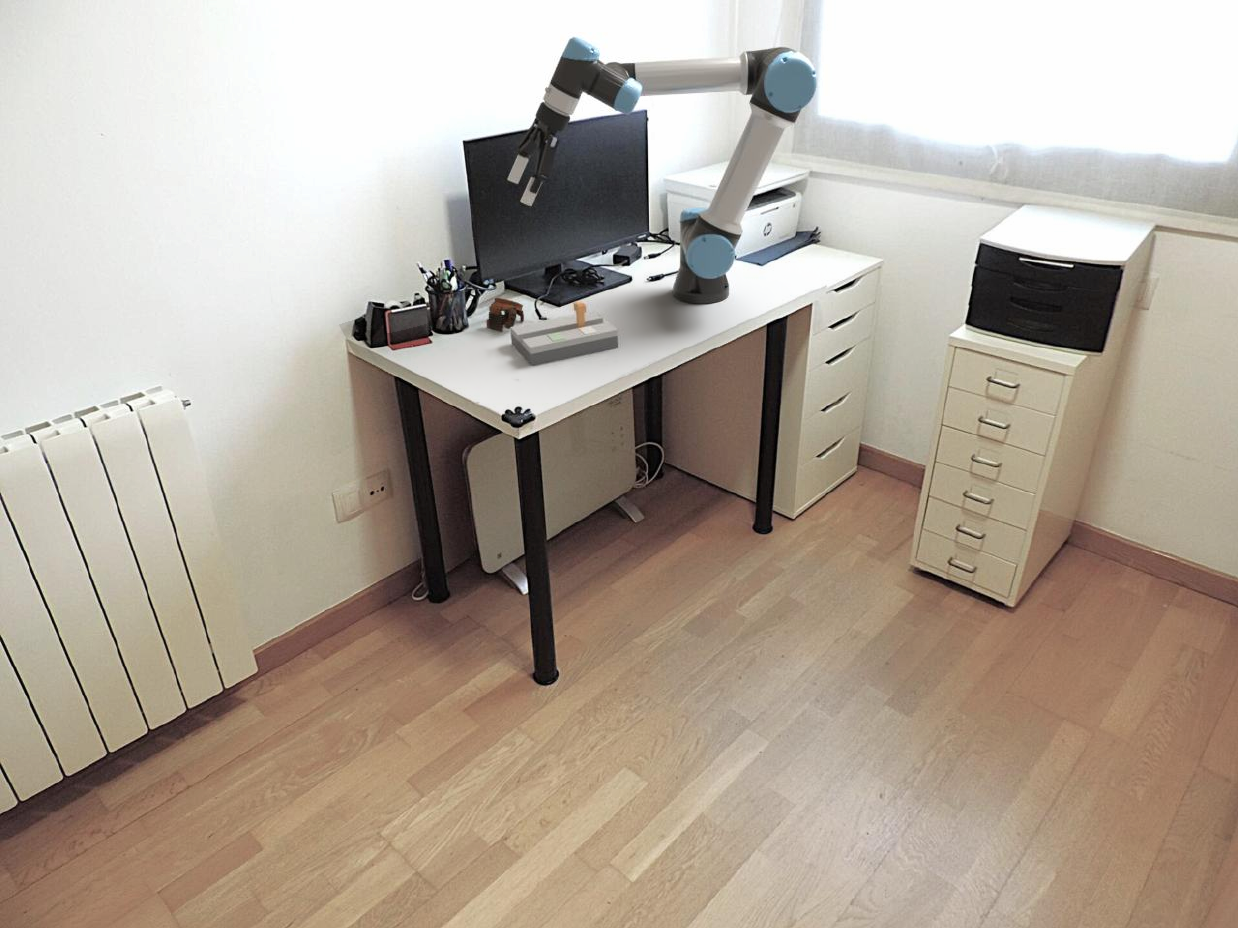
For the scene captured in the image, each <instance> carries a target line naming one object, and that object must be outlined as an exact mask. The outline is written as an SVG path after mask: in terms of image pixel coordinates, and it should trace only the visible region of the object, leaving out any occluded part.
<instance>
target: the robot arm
mask: <svg viewBox="0 0 1238 928" xmlns="http://www.w3.org/2000/svg"><path fill="white" fill-rule="evenodd" d="M600 55H601V50H599V48H597V47H596V46H595V45H593V44H591V43H589V42H587V41H586V40H584V39H582V38H579V37H576V36H573V37H571V38H569V40H568V42H567V44H566V46H565V48H564V49H563V52H562V54H561V56H560V58H559V61H558V63H557V65H556V67H555V70H554V73H553V75H552V77H551V79H550V81H549V84H548V87H545V88H544V91H545V93H544V96H543V98H542V99H543V100H542V102H540V103H539V106H538V108H537V111H536V113H535V118H534V120H533V122H532V124H531V126H530V127H529V129H528V130H527V132H526V133H525V135H523V137H522V139H521V140H520V142H519V143H518V144H517V149H518V151H517V156H516V159H515V161H514V163H513V165H512V167H511V169H510V173H509V174H508V177H507V181H509V182H511V183H514V184H516V185H519V182H520V180H521V178H522V176H523V173H524V171H525V169H526V167H527V165H528V163H529V159H532V156H531V155H532V154H533V152H535V151H537V155H536V160H535V167H534V172H533V173H532V174H530V178H529V181H528V183H527V185H526V188H525V190H524V192H523V194H522V197H521V199H520V202H521V203H522V204H524V205H526V206H530V207H532V206H533V203H534V201H535V199H536V197H537V195H538V194H539V193H538V192H539V190H540V188H541V185H542V184H543V182H546V183H547V182H549V179H550V174H551V172H552V168H553V164H554V161H555V156H556V152H557V150H558V146H559V144H560V143H561V141H560V139H559V138H557V137H556V136H557V133H558V132H560V133H564V132H565V131H566V129H567V127H568V125H569V123H570V121H571V117H570V116H572V115H574V113H575V111H576V108H577V106H578V104H579V102H580V99H581V97H582V94H583V93H585V94H586V95H587V96H590V97H591V98H594V99H596V100H597V101H599V102H601V103H603V104H604V105H606V106H608V107H610V108H611V109H614V111H616V112H618V113H619V112H620V113H622V114H624V115H628V116H629V115H630V114H631V113H633V111H634V109H635V107H636V106H637V104H638V102H639V99H640V97H646V96H649V97H650V96H669V95H683V94H684V95H686V94H687V95H689V94H704V93H725V92H740V93H741V94H742V95H743V96H749V95H750V96H751V97H750V100H749V102H748V103H749V107H750V110H751V111H750V112H751V113H750V115H749V118H748V120H747V122H746V125H744V126H745V127H744V129H743V131H742V134H741V135H740V138H739V140H738V142H737V144H736V146H735V149H734V152H733V154H732V156H731V158H730V160H729V162H728V165H726V166H727V167H726V169H725V171H724V174H723V176H722V177H721V180H720V183H719V185H718V187H717V189H716V192H715V193H714V195H713V198H712V199H711V202H710V204H709V207H707V206H705V207H703V206H702V207H689V208H686V209H684V210H682V211H681V213H680V217H679V223H680V232H679V233H680V235H679V236H680V237H679V246H680V247H679V268H678V271H677V274H676V277H675V280H674V283H673V288H672V289H673V293H672V295H673V296H674V297H675V298H676V299H677V300H679V301H682V302H685V303H690V304H711V303H718V302H721V301H723V300H726V299H727V298H728V297H729V295H730V284H729V281H728V277H727V273H728V272H729V271H730V270H731V269H732V267H733V265H734V262H735V258H736V251H735V249H736V248H737V245H738V243H739V241H740V239H741V237H742V234H743V232H744V231H743V228H742V225H741V223H742V220H743V218H744V217H745V213H747V210H748V208H749V205H750V203H751V201H752V199H753V198H754V195H755V192H756V191H757V189H758V186H759V184H760V183H761V181H762V178H763V176H764V174H765V172H766V170H767V167H768V165H769V163H770V161H771V159H772V157H773V154H774V152H775V151H776V149H777V146H778V144H779V143H780V140H781V137H782V136H783V134H784V132H785V129H786V128H788V127H790V126H793V125H794V124H795V123H796V121H797V119H798V117H799V115H800V113H801V112H802V109H804V108H805V107H806V106H808V104H809V103H810V102H811V101H812V99H813V98H814V96H815V93H816V90H817V88H818V87H817V86H818V76H817V72H816V69H815V67H814V65H813V64H812V62H811V61H810V60H809V58H808V57H807V56H805V55H803V54H802V53H801V52H797V51H796V50H794V49H792V48H790V47H786V46H777V47H771V48H765V49H758V50H747V51H743V52H742V53H741V54H740V55H739V56H725V57H712V58H711V57H706V58H693V59H692V58H691V59H674V60H673V59H672V60H659V61H657V60H656V61H642V62H641V61H639V62H624V63H620V62H618V61H611V62H607V63H604V62H602V61H601V60H600Z"/></svg>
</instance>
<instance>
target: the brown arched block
mask: <svg viewBox="0 0 1238 928" xmlns="http://www.w3.org/2000/svg"><path fill="white" fill-rule="evenodd" d="M523 307H524V305H523V304H521V303H519V302H516V301H513V300H511V299H510V300H509V299H506V298H501V297H495V298H494V302H492V303H491V304H490V306H489V309H488V319H486V324H485V325H486V327H485V328H486V329H489V330H491V331H495V332H496V331H497V332H499V333H503V331H504V327H505V329H507V330H510V327H513V326H515V322H516V321H517V320H516V319H517V316H519V317H520V322H521V323H522V322H524V320H525V314H524V311H523ZM502 312H503V313H504V314H503V313H502Z"/></svg>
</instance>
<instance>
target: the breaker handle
mask: <svg viewBox="0 0 1238 928" xmlns="http://www.w3.org/2000/svg"><path fill="white" fill-rule="evenodd" d="M573 310H574V312H575V314H576V321H577V328H581V327H585V315H584V313H586V312H587V304H585V303H584V302H583V301H581V300H580V301H576V302H573Z"/></svg>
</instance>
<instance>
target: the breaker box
mask: <svg viewBox="0 0 1238 928" xmlns="http://www.w3.org/2000/svg"><path fill="white" fill-rule="evenodd" d="M584 315H585V327H581V328H577V321H576V313H574V314H570V315H569V314H568V315H565V316H559V317H555V318H549V319H545V320H540V321H539V320H538V321H534V322H530V323H529V322H528V323H525V324H523V323H522V324H520V325H514V326H513V327H510V329H509V330H510V331H509V332H510V337H511V338H510V339H511V346H513V347H514V348H515V350H516V351H517V352H518V353H519V354H520V355H521V356H522V357H523V358H524V359H525V360H526V362H528V364H530V365H531V366H532V367H533V366H537V365H542V364H546V363H551V362H552V363H553V362H556V361H561V360H564V359H570V358H575V357H579V356H585V355H589V354H593V353H598V352H602V351H607V350H611V349H616V348H619V334H618V333H619V331H618V329H617V328H616V327H615V326H614V325H613V324H612V323H610V322H608V321H606V322H604V317H602V315H600V314H599V313H597V312H596V311H595V310H589V311H586V313H584Z"/></svg>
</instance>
